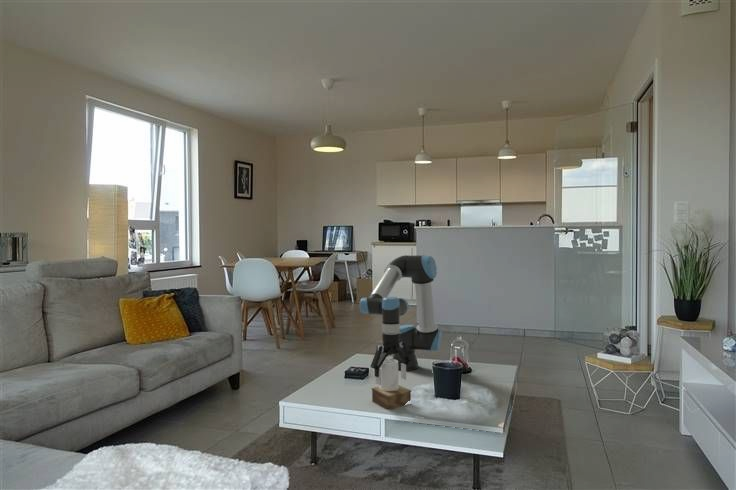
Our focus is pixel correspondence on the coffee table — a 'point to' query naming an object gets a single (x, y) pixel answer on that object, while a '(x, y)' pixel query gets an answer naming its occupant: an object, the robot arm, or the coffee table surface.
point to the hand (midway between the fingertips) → (391, 381)
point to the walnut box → (391, 397)
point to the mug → (389, 375)
